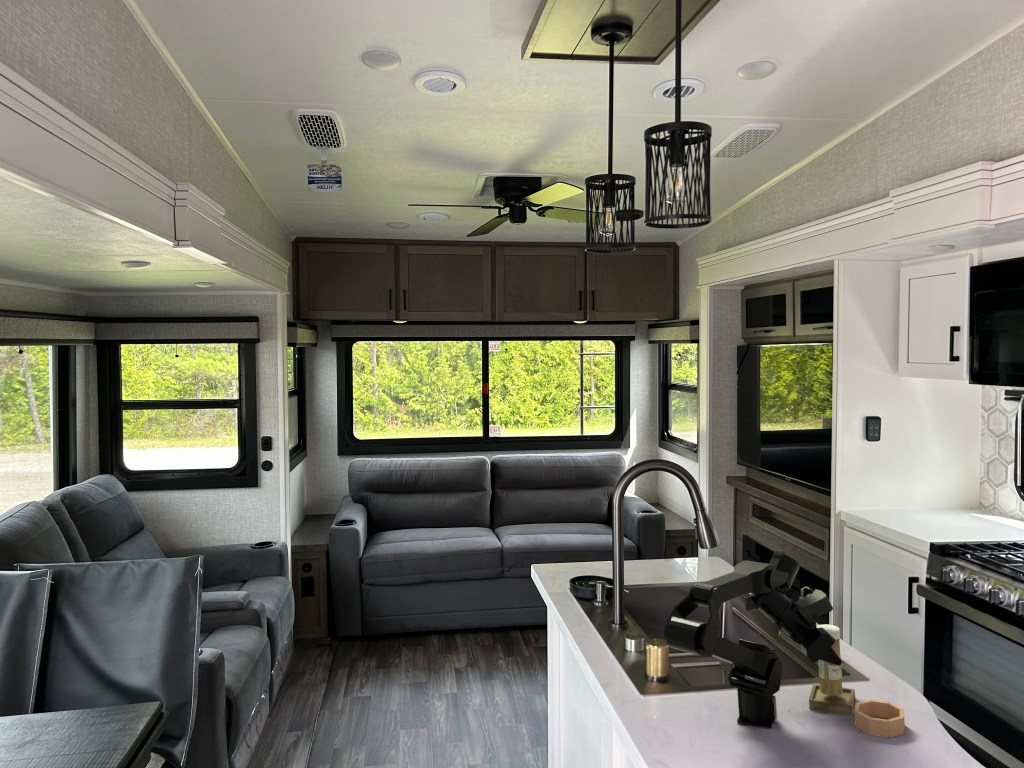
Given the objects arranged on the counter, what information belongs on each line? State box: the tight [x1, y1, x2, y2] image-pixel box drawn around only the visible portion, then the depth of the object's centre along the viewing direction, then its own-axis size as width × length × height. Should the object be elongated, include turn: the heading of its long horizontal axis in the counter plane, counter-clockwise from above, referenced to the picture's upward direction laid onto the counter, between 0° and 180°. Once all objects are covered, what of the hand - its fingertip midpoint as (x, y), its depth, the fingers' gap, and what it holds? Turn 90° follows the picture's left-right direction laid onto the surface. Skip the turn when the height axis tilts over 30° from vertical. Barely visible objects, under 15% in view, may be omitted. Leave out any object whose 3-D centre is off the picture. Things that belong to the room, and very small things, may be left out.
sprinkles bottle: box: [816, 624, 843, 696], centre depth 153 cm, size 5×5×14 cm
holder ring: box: [854, 699, 906, 738], centre depth 143 cm, size 8×8×3 cm
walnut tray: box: [808, 683, 856, 716], centre depth 153 cm, size 8×8×2 cm
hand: (836, 659), depth 153 cm, fingers closed on sprinkles bottle, 4 cm apart
